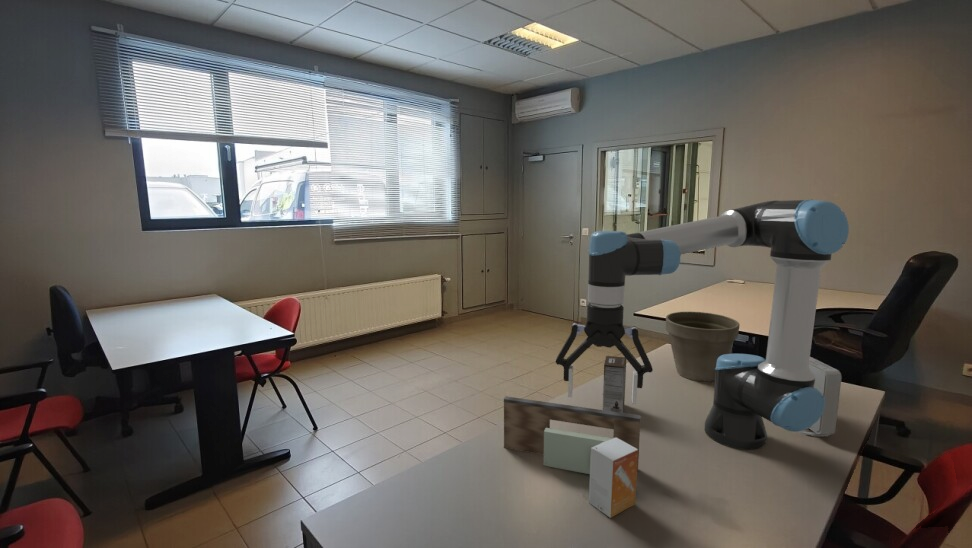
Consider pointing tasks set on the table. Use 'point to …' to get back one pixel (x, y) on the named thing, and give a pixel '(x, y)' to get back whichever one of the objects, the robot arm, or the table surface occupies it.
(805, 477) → the table surface
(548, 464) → the sliding door
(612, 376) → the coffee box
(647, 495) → the table surface
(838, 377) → the network device
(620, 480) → the small box
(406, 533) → the table surface
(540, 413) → the wall frame
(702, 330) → the plant pot
